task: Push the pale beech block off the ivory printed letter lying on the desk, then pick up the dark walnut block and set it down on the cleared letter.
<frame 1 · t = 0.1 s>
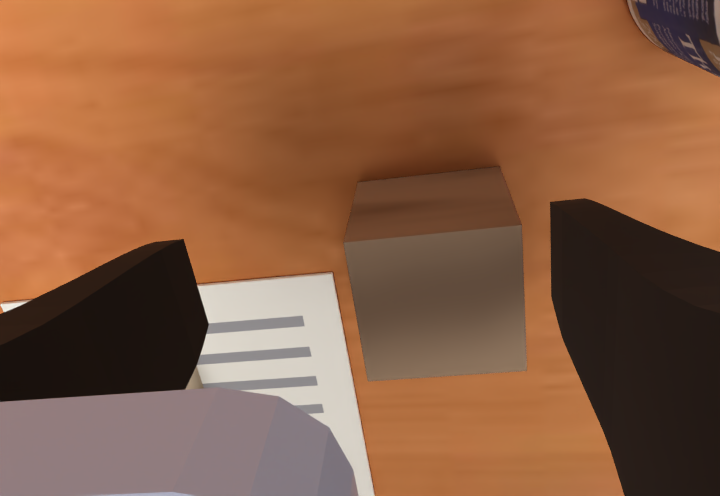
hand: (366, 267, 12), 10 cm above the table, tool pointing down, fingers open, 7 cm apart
walnut block: (434, 237, 23), on the table
letter: (200, 404, 27), on the table
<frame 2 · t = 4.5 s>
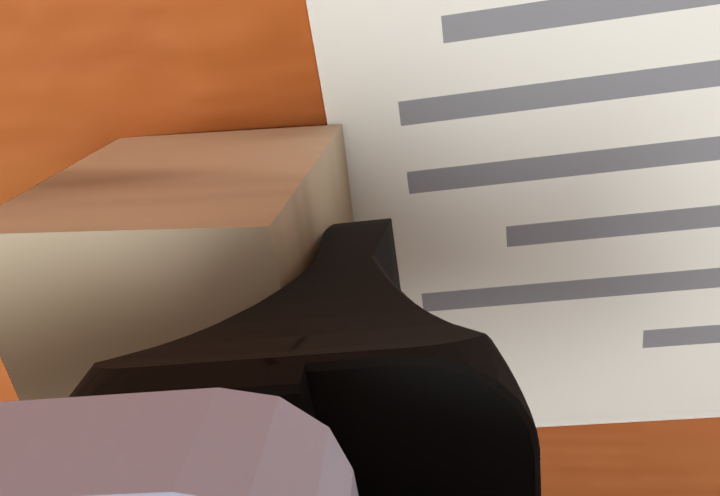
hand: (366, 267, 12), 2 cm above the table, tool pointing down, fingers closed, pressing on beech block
letter: (673, 195, 13), on the table
beech block: (248, 238, 14), on the table, tilted 5°, touching gripper
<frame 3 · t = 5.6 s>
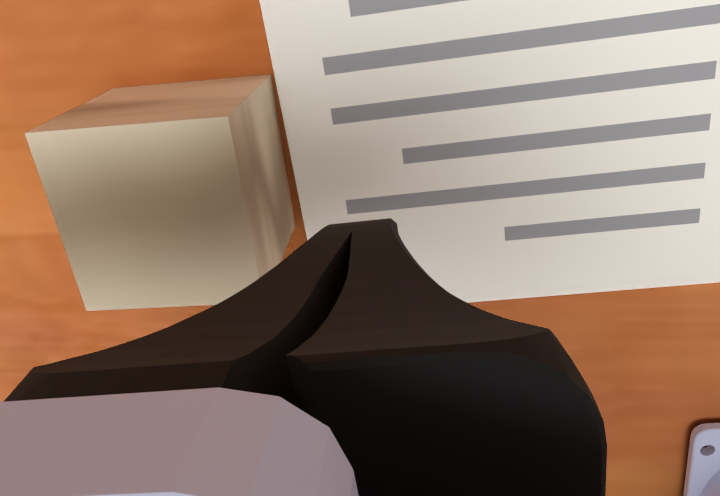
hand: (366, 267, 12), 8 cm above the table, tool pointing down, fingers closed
letter: (516, 125, 19), on the table
beech block: (209, 158, 20), on the table
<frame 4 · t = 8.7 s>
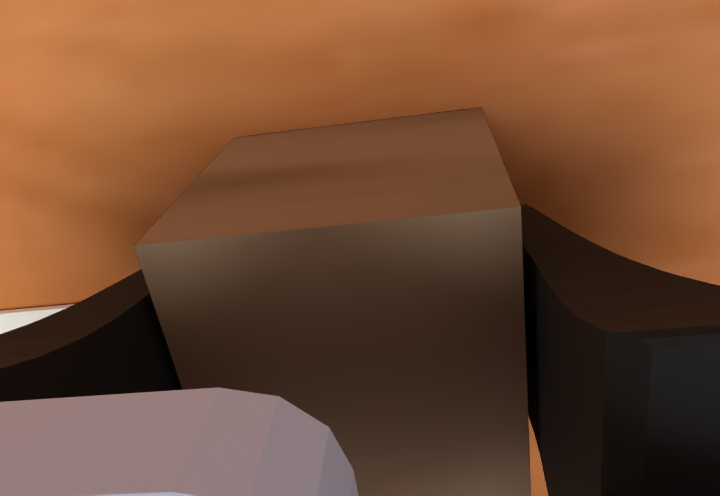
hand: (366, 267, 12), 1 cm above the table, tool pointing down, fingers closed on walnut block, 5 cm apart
walnut block: (371, 236, 13), on the table, touching gripper
letter: (28, 491, 18), on the table
when the fingers open (2 cm above the table, at t = 12.8 s): walnut block stays where it is, resting on letter.
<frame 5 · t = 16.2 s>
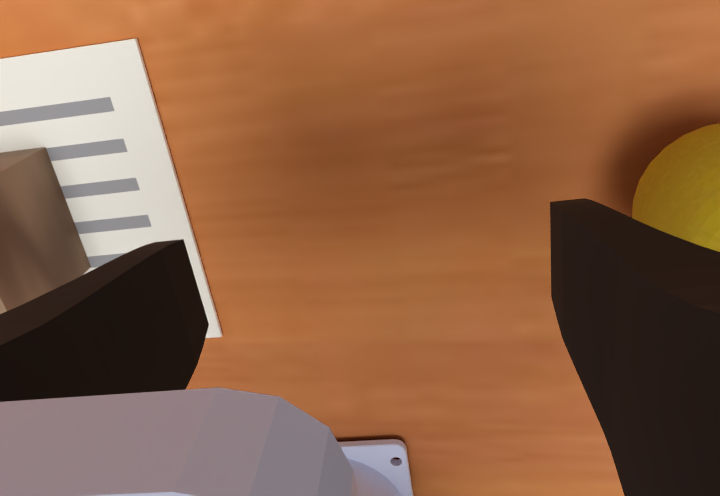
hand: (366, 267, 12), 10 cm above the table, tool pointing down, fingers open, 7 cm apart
walnut block: (10, 216, 24), resting on letter
lemon: (683, 173, 21), on the table
letter: (16, 221, 24), on the table
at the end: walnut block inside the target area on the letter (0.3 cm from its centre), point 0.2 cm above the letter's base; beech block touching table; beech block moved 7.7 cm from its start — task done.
